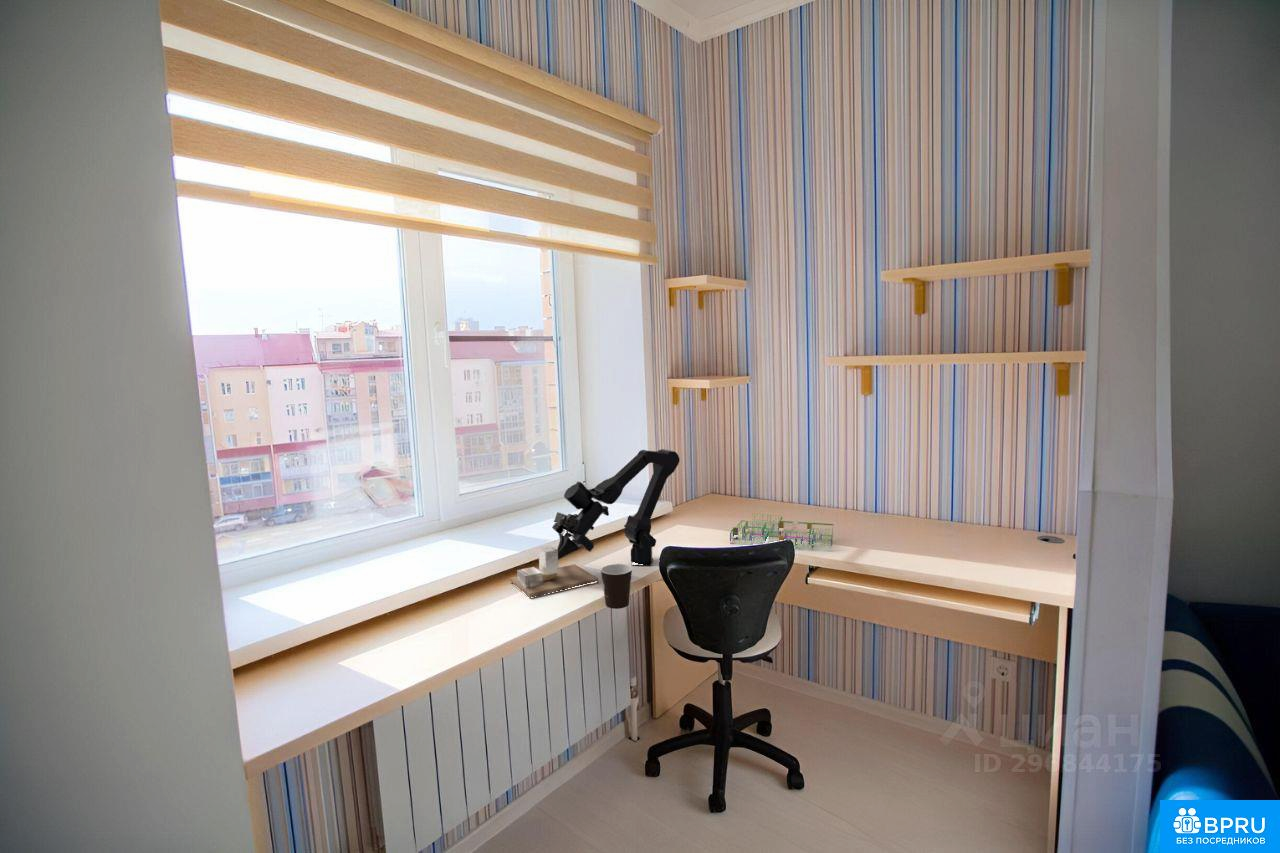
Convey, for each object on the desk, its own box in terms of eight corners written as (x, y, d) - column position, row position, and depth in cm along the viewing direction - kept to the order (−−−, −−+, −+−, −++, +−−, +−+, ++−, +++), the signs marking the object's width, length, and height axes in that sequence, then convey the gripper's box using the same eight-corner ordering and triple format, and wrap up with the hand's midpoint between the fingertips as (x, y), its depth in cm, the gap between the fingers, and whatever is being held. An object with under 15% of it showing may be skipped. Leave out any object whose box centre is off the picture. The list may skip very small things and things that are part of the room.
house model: (729, 545, 228) (729, 532, 228) (743, 524, 256) (743, 513, 256) (831, 553, 217) (831, 540, 217) (834, 530, 245) (834, 518, 245)
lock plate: (574, 568, 206) (574, 553, 205) (598, 582, 192) (597, 566, 192) (509, 582, 194) (509, 566, 194) (529, 598, 181) (529, 581, 180)
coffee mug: (626, 611, 170) (625, 575, 169) (596, 608, 173) (595, 572, 172) (640, 596, 181) (639, 562, 180) (612, 593, 184) (611, 559, 183)
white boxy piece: (551, 574, 196) (550, 545, 195) (558, 579, 191) (557, 549, 190) (524, 580, 191) (523, 551, 190) (530, 585, 187) (529, 555, 186)
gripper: (556, 497, 202) (525, 536, 197) (583, 508, 186) (550, 551, 182) (579, 517, 207) (549, 556, 202) (607, 530, 191) (575, 573, 186)
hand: (555, 559), depth 193 cm, fingers closed, pressing on white boxy piece
